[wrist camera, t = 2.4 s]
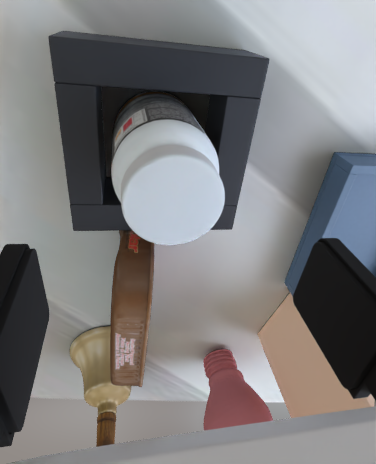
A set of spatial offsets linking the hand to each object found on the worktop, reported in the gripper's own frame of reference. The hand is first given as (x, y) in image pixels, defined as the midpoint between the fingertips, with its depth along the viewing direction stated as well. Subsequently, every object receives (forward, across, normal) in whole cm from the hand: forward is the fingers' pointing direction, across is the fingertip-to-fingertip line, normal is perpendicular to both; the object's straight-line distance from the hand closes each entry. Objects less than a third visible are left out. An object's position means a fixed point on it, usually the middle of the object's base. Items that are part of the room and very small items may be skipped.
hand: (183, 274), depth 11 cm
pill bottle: (+14, 0, 0) cm, 14 cm away
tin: (+14, +2, +13) cm, 19 cm away
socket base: (+14, 0, 0) cm, 14 cm away
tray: (+14, -20, +8) cm, 26 cm away
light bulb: (+14, -9, +26) cm, 32 cm away
